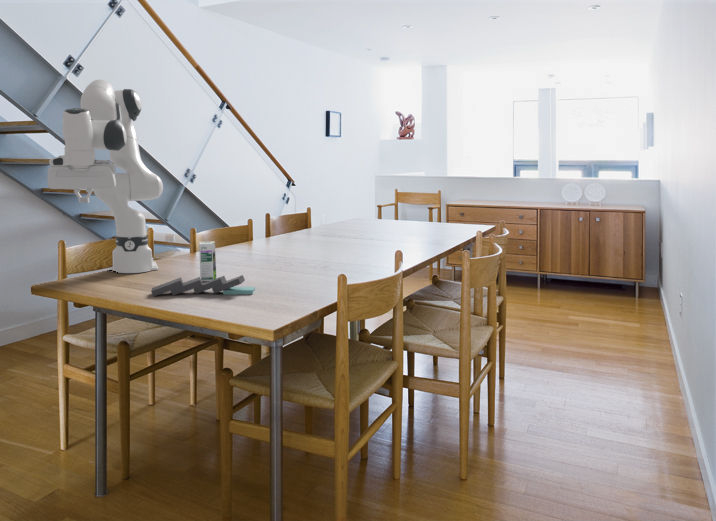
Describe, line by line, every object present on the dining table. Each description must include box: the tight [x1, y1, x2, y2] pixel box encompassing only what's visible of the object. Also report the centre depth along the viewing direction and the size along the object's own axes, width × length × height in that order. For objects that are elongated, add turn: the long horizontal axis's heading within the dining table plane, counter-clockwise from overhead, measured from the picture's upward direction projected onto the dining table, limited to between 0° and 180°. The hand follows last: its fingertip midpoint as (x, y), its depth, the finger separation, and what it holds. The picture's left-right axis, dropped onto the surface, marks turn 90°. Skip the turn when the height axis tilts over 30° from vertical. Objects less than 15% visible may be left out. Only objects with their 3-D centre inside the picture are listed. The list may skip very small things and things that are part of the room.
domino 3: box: [193, 275, 227, 295], centre depth 196 cm, size 2×5×10 cm
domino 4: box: [211, 274, 246, 294], centre depth 195 cm, size 2×5×10 cm
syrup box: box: [198, 241, 217, 283], centre depth 214 cm, size 6×6×14 cm
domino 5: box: [222, 286, 256, 295], centre depth 196 cm, size 2×5×10 cm
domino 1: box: [150, 277, 184, 297], centre depth 193 cm, size 2×5×10 cm
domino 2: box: [170, 276, 203, 296], centre depth 194 cm, size 2×5×10 cm
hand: (84, 202), depth 188 cm, fingers closed
